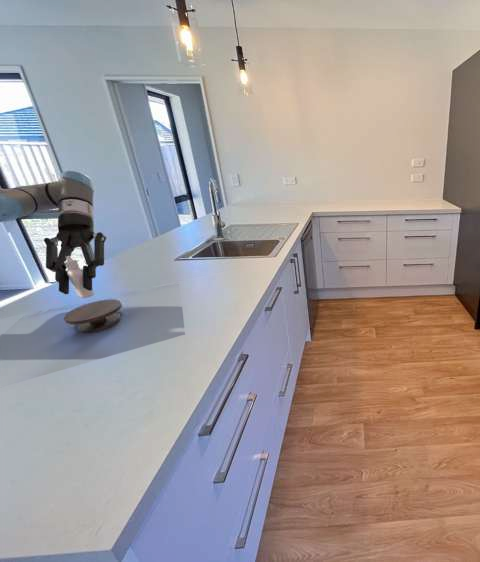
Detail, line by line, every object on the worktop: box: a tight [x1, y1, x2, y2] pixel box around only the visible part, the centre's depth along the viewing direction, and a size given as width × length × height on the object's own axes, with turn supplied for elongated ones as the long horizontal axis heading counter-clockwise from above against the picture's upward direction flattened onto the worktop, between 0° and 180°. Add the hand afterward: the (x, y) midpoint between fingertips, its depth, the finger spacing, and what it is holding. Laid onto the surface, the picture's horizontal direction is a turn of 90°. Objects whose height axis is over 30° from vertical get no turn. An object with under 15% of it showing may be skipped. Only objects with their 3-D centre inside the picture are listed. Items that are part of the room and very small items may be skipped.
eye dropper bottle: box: [64, 256, 95, 299], centre depth 84 cm, size 4×6×12 cm
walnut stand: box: [63, 298, 123, 334], centre depth 90 cm, size 13×13×5 cm
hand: (75, 290), depth 82 cm, fingers closed on eye dropper bottle, 4 cm apart
